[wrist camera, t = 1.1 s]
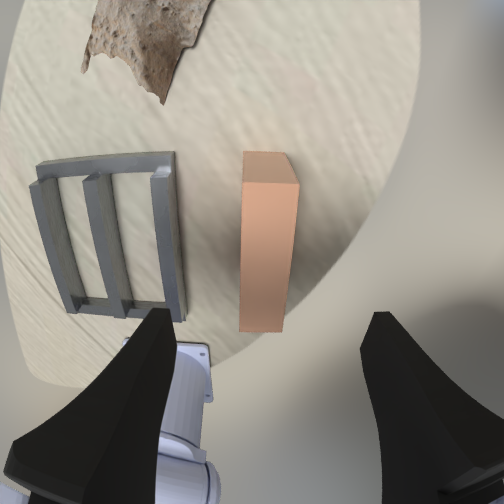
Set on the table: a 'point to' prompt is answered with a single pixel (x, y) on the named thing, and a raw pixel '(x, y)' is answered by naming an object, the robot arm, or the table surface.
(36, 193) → the drying rack
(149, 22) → the stone fragment
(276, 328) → the terracotta strip
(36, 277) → the table surface
